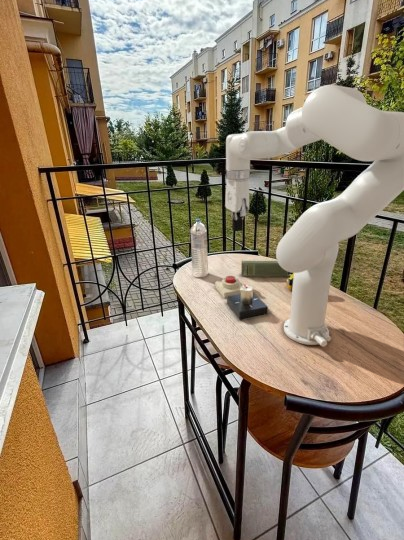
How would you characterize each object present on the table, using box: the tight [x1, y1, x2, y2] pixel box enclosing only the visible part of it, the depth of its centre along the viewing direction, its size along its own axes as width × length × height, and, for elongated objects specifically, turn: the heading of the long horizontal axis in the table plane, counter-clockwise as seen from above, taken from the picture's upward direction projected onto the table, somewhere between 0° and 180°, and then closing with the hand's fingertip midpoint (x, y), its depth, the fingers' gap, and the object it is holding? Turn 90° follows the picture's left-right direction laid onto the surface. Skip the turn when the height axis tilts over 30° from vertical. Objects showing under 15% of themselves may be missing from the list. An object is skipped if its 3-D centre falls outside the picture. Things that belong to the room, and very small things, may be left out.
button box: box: [214, 277, 244, 299], centre depth 108 cm, size 10×9×4 cm
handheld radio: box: [240, 260, 293, 278], centre depth 119 cm, size 7×3×25 cm
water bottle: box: [189, 218, 209, 278], centre depth 119 cm, size 7×7×25 cm
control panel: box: [226, 291, 269, 321], centre depth 95 cm, size 11×10×3 cm
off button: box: [225, 275, 236, 283], centre depth 107 cm, size 4×4×2 cm
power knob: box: [241, 284, 254, 304], centre depth 94 cm, size 4×4×5 cm
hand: (237, 230), depth 97 cm, fingers closed
